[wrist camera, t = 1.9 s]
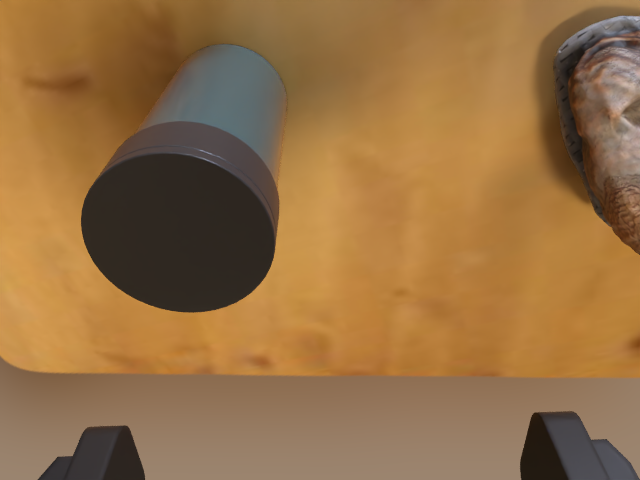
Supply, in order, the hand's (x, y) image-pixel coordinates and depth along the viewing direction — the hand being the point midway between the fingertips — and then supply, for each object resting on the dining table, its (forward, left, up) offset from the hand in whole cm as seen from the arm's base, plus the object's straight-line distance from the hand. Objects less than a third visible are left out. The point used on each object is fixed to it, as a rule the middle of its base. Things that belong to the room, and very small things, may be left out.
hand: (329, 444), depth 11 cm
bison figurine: (+2, +16, -22) cm, 27 cm away
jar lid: (+1, -5, -9) cm, 11 cm away
